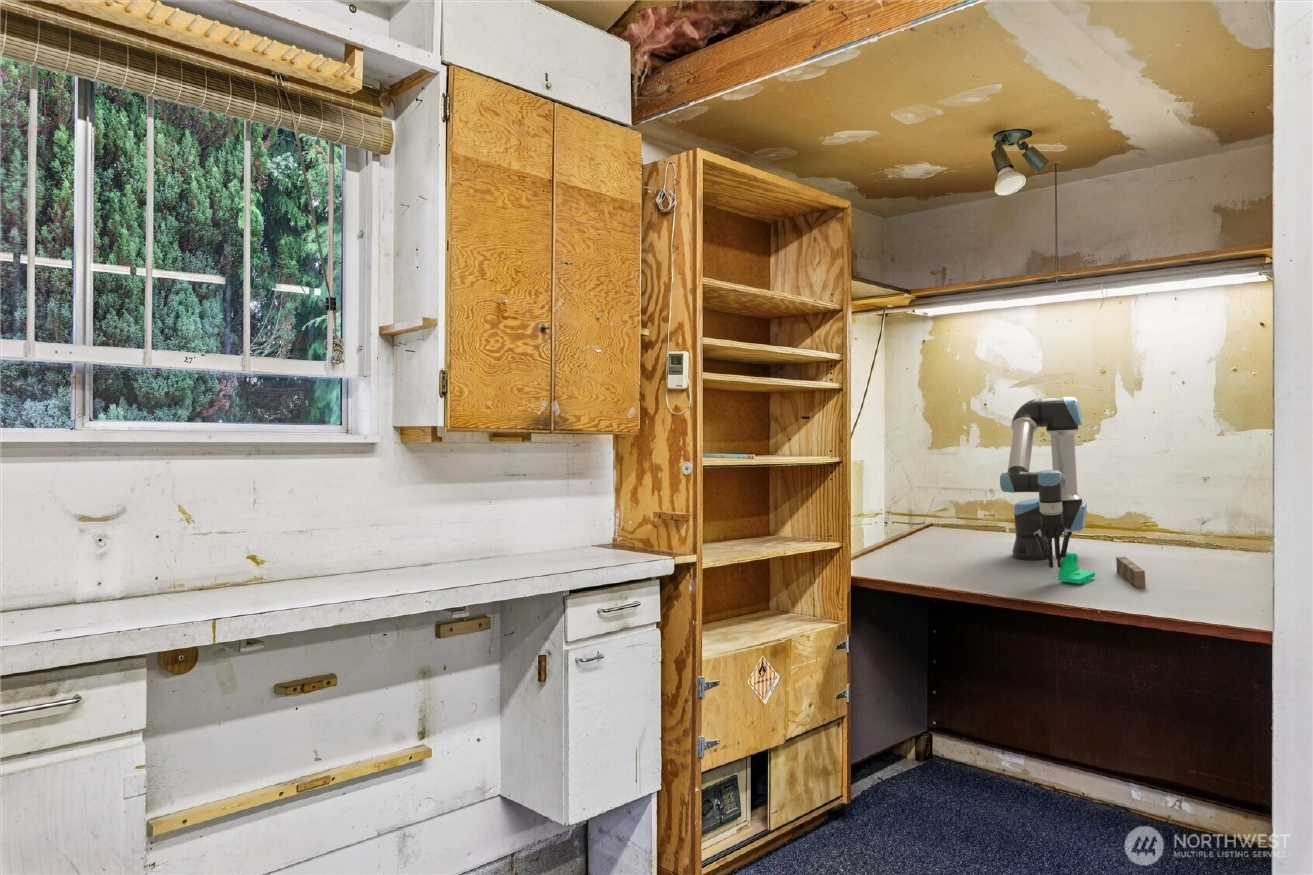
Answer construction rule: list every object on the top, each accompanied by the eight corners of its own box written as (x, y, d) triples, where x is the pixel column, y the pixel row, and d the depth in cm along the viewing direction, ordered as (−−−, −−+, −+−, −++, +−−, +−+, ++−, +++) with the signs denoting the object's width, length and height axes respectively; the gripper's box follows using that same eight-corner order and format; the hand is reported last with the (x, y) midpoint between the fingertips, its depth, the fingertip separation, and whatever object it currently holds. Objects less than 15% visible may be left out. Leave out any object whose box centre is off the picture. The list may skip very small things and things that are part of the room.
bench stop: (1117, 572, 308) (1116, 557, 308) (1125, 572, 308) (1124, 556, 307) (1136, 588, 289) (1135, 571, 288) (1145, 587, 288) (1144, 570, 288)
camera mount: (1079, 586, 297) (1077, 558, 296) (1058, 583, 303) (1056, 555, 303) (1096, 578, 304) (1094, 551, 303) (1075, 575, 310) (1074, 548, 309)
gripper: (1034, 516, 300) (1038, 579, 302) (1073, 513, 297) (1077, 578, 299) (1029, 512, 307) (1034, 574, 309) (1067, 509, 304) (1071, 572, 306)
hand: (1055, 576), depth 304 cm, fingers closed
